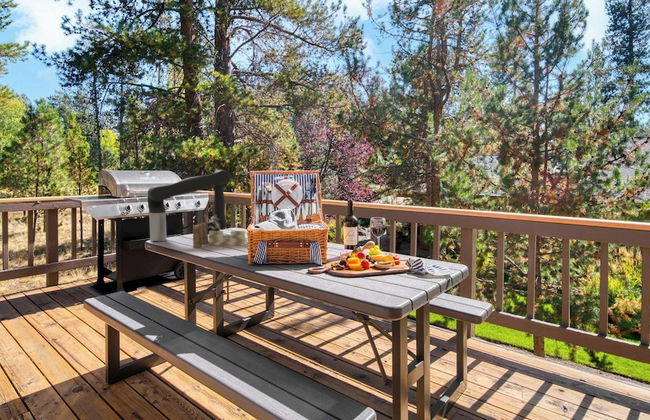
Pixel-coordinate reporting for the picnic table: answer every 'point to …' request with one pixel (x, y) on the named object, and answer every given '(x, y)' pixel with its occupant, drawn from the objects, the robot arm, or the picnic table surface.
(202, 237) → the brown wooden slab
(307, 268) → the picnic table surface
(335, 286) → the picnic table surface
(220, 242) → the birch board
